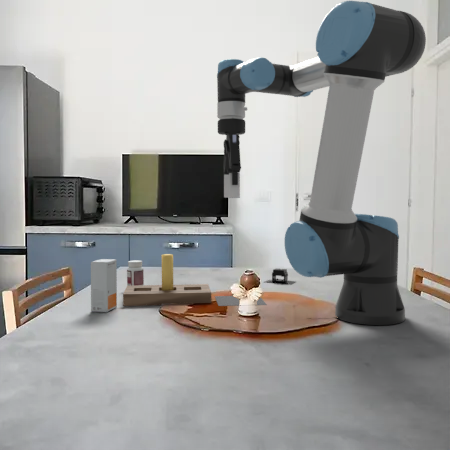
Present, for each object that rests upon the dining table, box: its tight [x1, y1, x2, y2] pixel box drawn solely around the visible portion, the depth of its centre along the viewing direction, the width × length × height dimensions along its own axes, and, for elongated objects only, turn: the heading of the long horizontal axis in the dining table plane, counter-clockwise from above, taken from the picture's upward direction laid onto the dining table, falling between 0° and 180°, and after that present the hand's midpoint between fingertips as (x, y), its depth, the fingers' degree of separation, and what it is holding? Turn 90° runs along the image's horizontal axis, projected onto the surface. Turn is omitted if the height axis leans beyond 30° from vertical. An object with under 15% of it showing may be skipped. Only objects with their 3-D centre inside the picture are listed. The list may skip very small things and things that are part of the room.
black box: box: [263, 268, 297, 286], centre depth 167 cm, size 12×7×5 cm, turn 65°
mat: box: [214, 295, 267, 307], centre depth 137 cm, size 12×12×1 cm
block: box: [122, 283, 212, 307], centre depth 139 cm, size 12×22×3 cm, turn 96°
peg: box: [161, 253, 174, 291], centre depth 138 cm, size 3×3×12 cm
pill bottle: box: [126, 259, 145, 287], centre depth 154 cm, size 5×5×8 cm
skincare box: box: [90, 258, 118, 313], centre depth 128 cm, size 6×4×12 cm
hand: (231, 197), depth 145 cm, fingers open, 13 cm apart
